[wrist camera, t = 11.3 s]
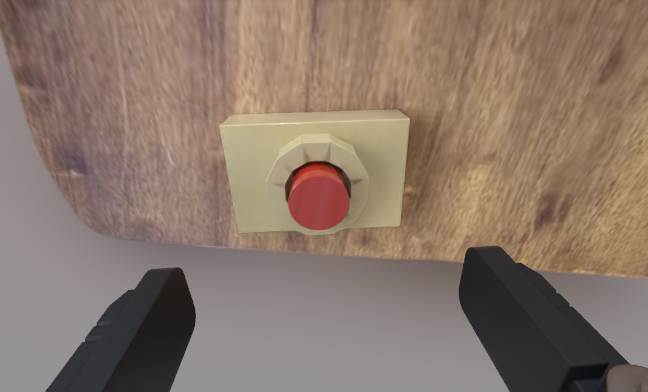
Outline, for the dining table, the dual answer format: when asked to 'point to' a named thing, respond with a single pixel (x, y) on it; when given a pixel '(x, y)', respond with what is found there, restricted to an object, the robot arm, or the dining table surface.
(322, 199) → the push button
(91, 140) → the dining table surface
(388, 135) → the button base
